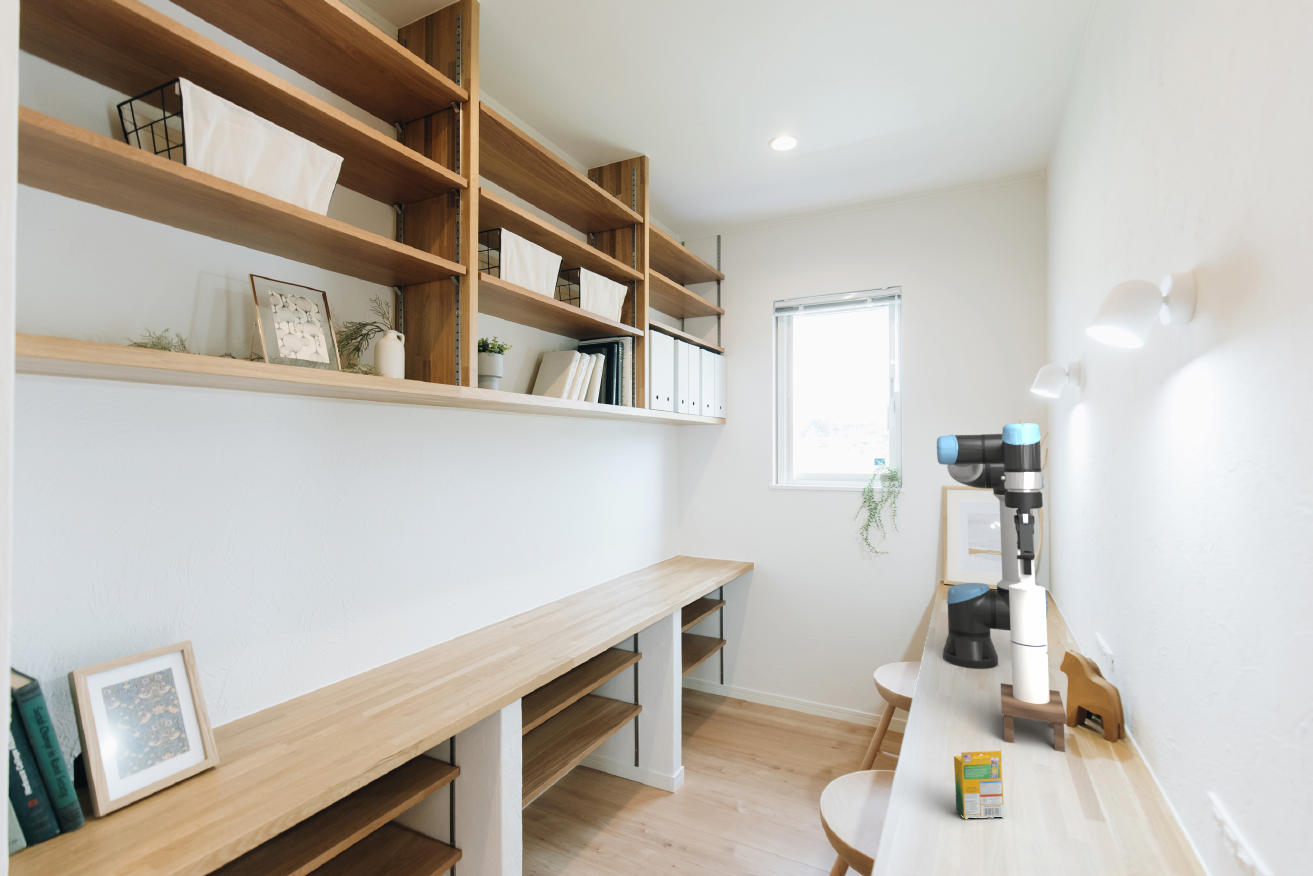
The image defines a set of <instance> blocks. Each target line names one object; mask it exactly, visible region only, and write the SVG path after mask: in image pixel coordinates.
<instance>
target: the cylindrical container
mask: <svg viewBox="0 0 1313 876" xmlns="http://www.w3.org/2000/svg"><path fill="white" fill-rule="evenodd" d="M1045 594H1046V588H1045V587H1043V586H1041V585H1040V586H1036V585H1035V590H1029V589H1021V584H1012V585H1009V602H1010V628H1011V631H1010V648H1011V672H1012V675H1011V677H1012V685H1013V696H1014V697H1015V698H1016V699H1018V700H1020V701H1023V702H1028V703H1033V704H1045V703H1048V702H1049V701H1050V698H1049V690H1050V679H1049V677H1050V675H1049V658H1048V657H1049V654H1048V653H1049V651H1048V649H1049V648H1048V631H1047V630H1048V628H1047V627H1048V626H1047V619H1046V598H1045Z"/></svg>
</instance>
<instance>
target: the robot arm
mask: <svg viewBox="0 0 1313 876" xmlns="http://www.w3.org/2000/svg"><path fill="white" fill-rule="evenodd" d="M1001 432H1002V433H987V434H985V433H984V434H955V435H954V434H948V435H939V436H938V437H937V438H936V459H937V463H938V464H939V465H945V466H946V469H947V472H948V473H949V476H950V477H951V478H952V480H954V481H956V482H958V483H960V484H962V485H965V486H967V487H971V488H975V489H992V490H993V492H992V493H993V495H994V497H996V498H997V500H998V501H999V521H1000V522H999V523H1000V526H999V527H1000V551H1001V553H1000V554H1001V575H1002V576H1001V578H1002V579H1001V580H1000V581H998V582H997V583H996V589H990V586H989V585H988V584H987V583H983V582H982V583H980V582H968V583H959V584H954V585H951V586H950V587H949V588H948V589H947V598H946V599H947V600H946V604H947V621H948V622H947V624H948V625H947V626H948V630H947V632H948V634H947V637H946V641H945V642H944V643H945V644H944V647H943V650H942V657H943V660H944V661H945V662H948V663H949V664H951V665H954V666H958V667H962V668H963V667H964V668H971V669H991V668H995V667H997V666H998V665H999V655H998V653H997V651H996V648H995V645H994V643H993V641H992V637H991V630H1002V631H1008V632H1009V631H1010V632H1011V628H1010V602H1009V585H1012V584H1021V589H1029V590H1035V585H1036V586H1041V585H1040V584H1039V583H1037V581H1036V567H1035V566H1036V563H1035V557H1036V555H1035V537H1034V536H1035V535H1034V534H1035V523H1036V522H1035V516H1034V511H1033V510H1034V509H1041V508H1043V506H1044V505H1043V493H1042V492H1041V491H1040V490H1042V489H1044V487H1045V485H1044V477H1043V471H1042V464H1041V463H1042V461H1041V459H1042V458H1041V439H1042V437H1041V433H1040V426H1039V425H1038V424H1037V423H1028V422H1027V423H1011V424H1010V423H1008V424H1005V425H1003V427H1002V431H1001ZM1048 597H1049V596H1048V594H1047V593H1045V598H1046V620H1047V618H1048V609H1049V606H1048V604H1049V603H1048V602H1049V598H1048Z"/></svg>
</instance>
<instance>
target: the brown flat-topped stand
mask: <svg viewBox="0 0 1313 876" xmlns="http://www.w3.org/2000/svg"><path fill="white" fill-rule="evenodd" d="M1049 698H1050V701H1049V702H1048V703H1045V704H1033V703H1028V702H1023V701H1020V700H1018V699H1016V698H1015V697H1014V696H1013V684H1008V683H1003V682H1002V683H1000V701H1001V702H1000V705H1001V709H1000V710H1001V715H1003V730H1004V731H1003V733H1004V742H1006V743H1011V744H1012V743H1013V744H1015V734H1014V733H1015V732H1014V728H1015V727H1014V717H1015V718H1016V717H1017V718H1022V719H1023V718H1024V719H1029V720H1036V721H1037V720H1038V721H1043V722H1048V723H1049V728H1051V729H1052V730H1053V747H1054V751H1058V752H1064V753H1066V748H1065V747H1066V745H1065V744H1066V743H1065V741H1066V740H1065V725H1067V713H1066V711H1065V707H1064V702H1063V699H1062V697H1061V693H1060V691H1059V690H1054V689H1049Z"/></svg>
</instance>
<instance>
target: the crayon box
mask: <svg viewBox="0 0 1313 876" xmlns="http://www.w3.org/2000/svg"><path fill="white" fill-rule="evenodd" d="M953 762H954V764H953V765H954V767H953V768H954V783H955V786H954V787H955V810H957V811H958V812H959V813H960V814H961V815H962V816H963V817H964V818H972V817H977V818H979V817H991V816H992V817H1004V818H1005V805H1004V785H1003V767H1002V765H1003V764H1002V750H987V751H981V750H980V751H964V752H963V751H962V752H961V755H954V756H953ZM957 811H956V812H957ZM958 812H957V813H958ZM959 813H958V814H959ZM960 814H959V815H960Z"/></svg>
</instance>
